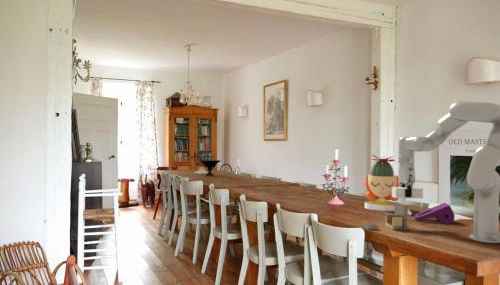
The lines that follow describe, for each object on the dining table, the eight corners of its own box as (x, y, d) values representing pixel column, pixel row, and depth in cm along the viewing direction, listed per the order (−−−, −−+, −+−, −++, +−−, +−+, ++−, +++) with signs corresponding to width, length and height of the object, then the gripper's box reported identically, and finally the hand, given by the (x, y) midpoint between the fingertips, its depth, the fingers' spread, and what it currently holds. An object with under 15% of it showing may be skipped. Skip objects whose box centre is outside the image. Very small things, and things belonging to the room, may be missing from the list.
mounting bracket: (423, 233, 212) (457, 220, 208) (416, 218, 212) (449, 205, 209) (419, 229, 221) (451, 217, 218) (412, 215, 222) (444, 202, 218)
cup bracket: (407, 230, 189) (407, 205, 189) (393, 230, 189) (394, 205, 189) (397, 225, 200) (397, 202, 200) (384, 225, 200) (384, 202, 200)
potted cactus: (400, 211, 243) (401, 155, 243) (363, 209, 250) (364, 154, 250) (398, 206, 263) (399, 155, 264) (364, 204, 270) (364, 154, 270)
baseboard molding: (453, 221, 217) (473, 221, 219) (453, 216, 217) (474, 216, 219) (423, 211, 248) (441, 212, 249) (423, 207, 248) (441, 207, 249)
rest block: (378, 229, 190) (378, 225, 190) (368, 229, 189) (368, 225, 189) (372, 226, 198) (372, 222, 198) (362, 226, 197) (362, 222, 197)
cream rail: (418, 197, 204) (418, 187, 204) (422, 198, 199) (422, 188, 199) (391, 196, 203) (391, 187, 203) (395, 198, 198) (395, 188, 198)
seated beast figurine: (412, 215, 230) (412, 195, 230) (396, 214, 232) (396, 194, 233) (409, 213, 239) (410, 193, 239) (395, 212, 242) (395, 192, 242)
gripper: (421, 161, 193) (420, 198, 193) (406, 160, 210) (405, 194, 210) (406, 161, 192) (406, 198, 192) (392, 160, 210) (391, 194, 209)
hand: (405, 195), depth 201 cm, fingers closed on cream rail, 5 cm apart
